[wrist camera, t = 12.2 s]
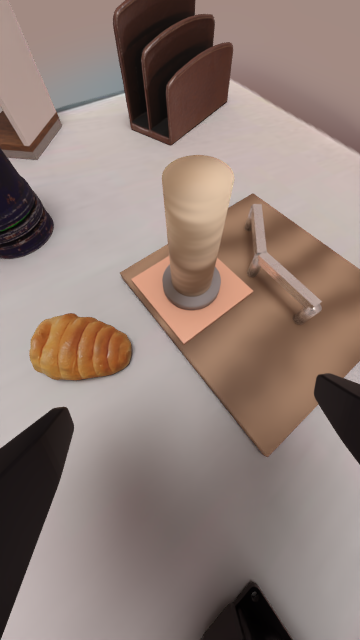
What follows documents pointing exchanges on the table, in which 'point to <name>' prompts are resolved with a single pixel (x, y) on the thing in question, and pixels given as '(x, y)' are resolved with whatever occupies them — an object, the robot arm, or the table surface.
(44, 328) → the pastry
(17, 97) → the grooved white pillar
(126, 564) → the table surface
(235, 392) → the board
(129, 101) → the letter holder
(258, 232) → the bent metal bar
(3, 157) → the storage jar
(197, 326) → the pad
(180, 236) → the peg
